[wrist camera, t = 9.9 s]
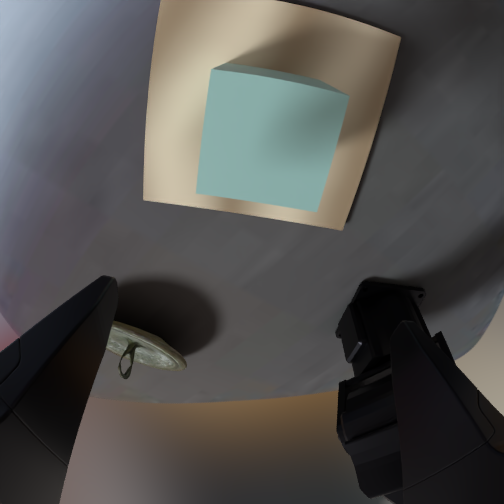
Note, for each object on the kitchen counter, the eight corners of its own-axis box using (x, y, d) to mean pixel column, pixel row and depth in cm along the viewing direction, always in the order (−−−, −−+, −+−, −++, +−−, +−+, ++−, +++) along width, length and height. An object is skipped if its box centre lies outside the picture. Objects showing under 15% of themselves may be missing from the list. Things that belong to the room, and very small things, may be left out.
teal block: (319, 79, 15) (349, 96, 10) (299, 162, 18) (316, 212, 13) (226, 62, 15) (211, 69, 10) (213, 147, 18) (195, 193, 13)
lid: (209, 321, 27) (202, 370, 23) (170, 371, 32) (163, 412, 28) (94, 271, 24) (71, 315, 20) (79, 333, 29) (63, 372, 25)
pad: (396, 37, 14) (401, 37, 13) (340, 225, 21) (342, 230, 21) (165, -8, 12) (162, -10, 12) (146, 195, 20) (143, 200, 19)
